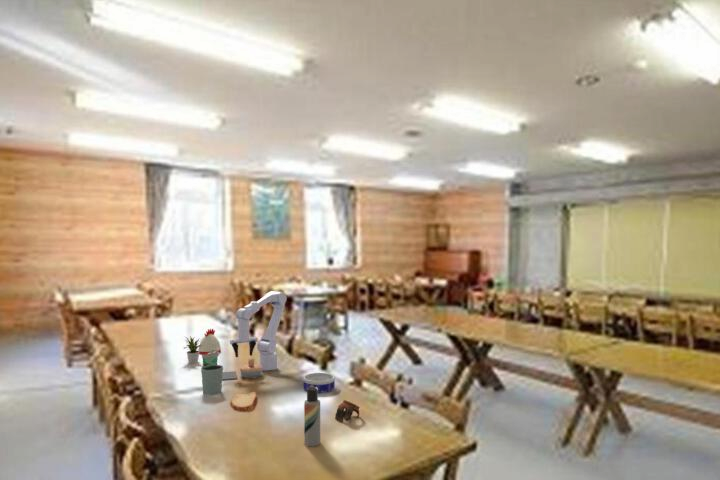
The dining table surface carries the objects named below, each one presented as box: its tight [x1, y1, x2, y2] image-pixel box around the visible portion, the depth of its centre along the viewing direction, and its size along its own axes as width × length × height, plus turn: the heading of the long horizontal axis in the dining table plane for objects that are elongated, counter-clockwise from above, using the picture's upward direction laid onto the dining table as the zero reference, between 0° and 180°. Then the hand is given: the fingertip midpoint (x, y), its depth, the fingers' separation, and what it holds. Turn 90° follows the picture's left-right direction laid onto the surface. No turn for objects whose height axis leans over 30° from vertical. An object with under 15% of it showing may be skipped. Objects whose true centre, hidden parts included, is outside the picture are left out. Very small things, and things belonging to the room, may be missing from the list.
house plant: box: [183, 335, 203, 364], centre depth 293 cm, size 14×14×16 cm
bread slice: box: [229, 391, 258, 413], centre depth 220 cm, size 18×18×4 cm
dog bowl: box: [302, 372, 336, 394], centre depth 241 cm, size 15×15×6 cm
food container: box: [201, 350, 220, 367], centre depth 276 cm, size 12×6×10 cm, turn 168°
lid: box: [239, 358, 263, 372], centre depth 263 cm, size 12×12×5 cm
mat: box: [222, 370, 238, 381], centre depth 262 cm, size 16×14×1 cm
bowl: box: [240, 369, 263, 379], centre depth 263 cm, size 11×11×4 cm
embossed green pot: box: [200, 364, 224, 396], centre depth 235 cm, size 10×10×12 cm
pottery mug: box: [334, 399, 360, 423], centre depth 200 cm, size 12×9×8 cm
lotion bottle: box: [303, 387, 321, 447], centre depth 176 cm, size 6×6×20 cm
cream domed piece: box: [197, 328, 222, 355], centre depth 320 cm, size 14×14×15 cm
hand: (243, 356), depth 265 cm, fingers open, 7 cm apart
